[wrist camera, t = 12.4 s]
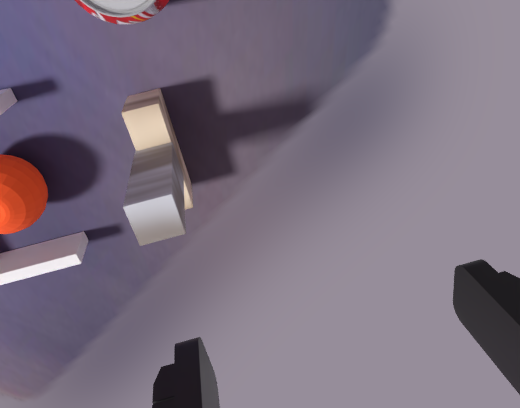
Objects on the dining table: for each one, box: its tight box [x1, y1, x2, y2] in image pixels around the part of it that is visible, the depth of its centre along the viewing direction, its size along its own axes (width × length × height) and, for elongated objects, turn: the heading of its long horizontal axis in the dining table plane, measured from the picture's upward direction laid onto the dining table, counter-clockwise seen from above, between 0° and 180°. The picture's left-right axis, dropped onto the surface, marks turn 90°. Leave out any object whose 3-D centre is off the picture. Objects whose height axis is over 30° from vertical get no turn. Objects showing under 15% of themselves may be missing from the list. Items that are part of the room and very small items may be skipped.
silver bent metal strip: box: [122, 88, 193, 246], centre depth 34 cm, size 10×3×14 cm, turn 11°
